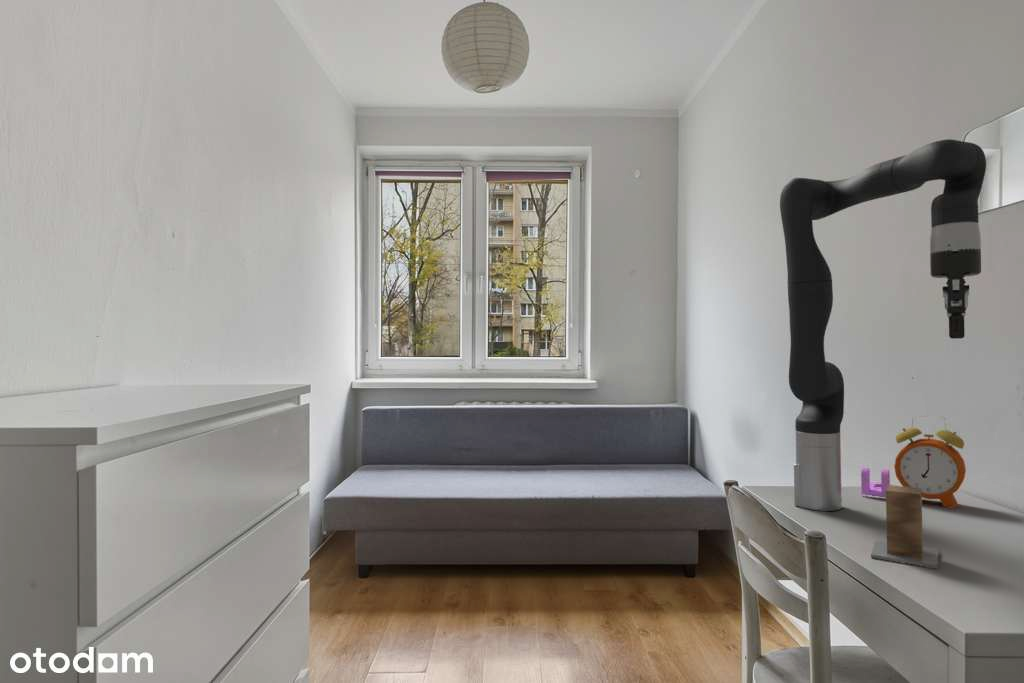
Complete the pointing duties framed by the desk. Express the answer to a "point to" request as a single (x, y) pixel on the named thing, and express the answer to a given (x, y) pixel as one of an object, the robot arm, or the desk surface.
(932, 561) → the slate pad
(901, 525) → the walnut block
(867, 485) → the bracket
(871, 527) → the desk surface
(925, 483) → the alarm clock
